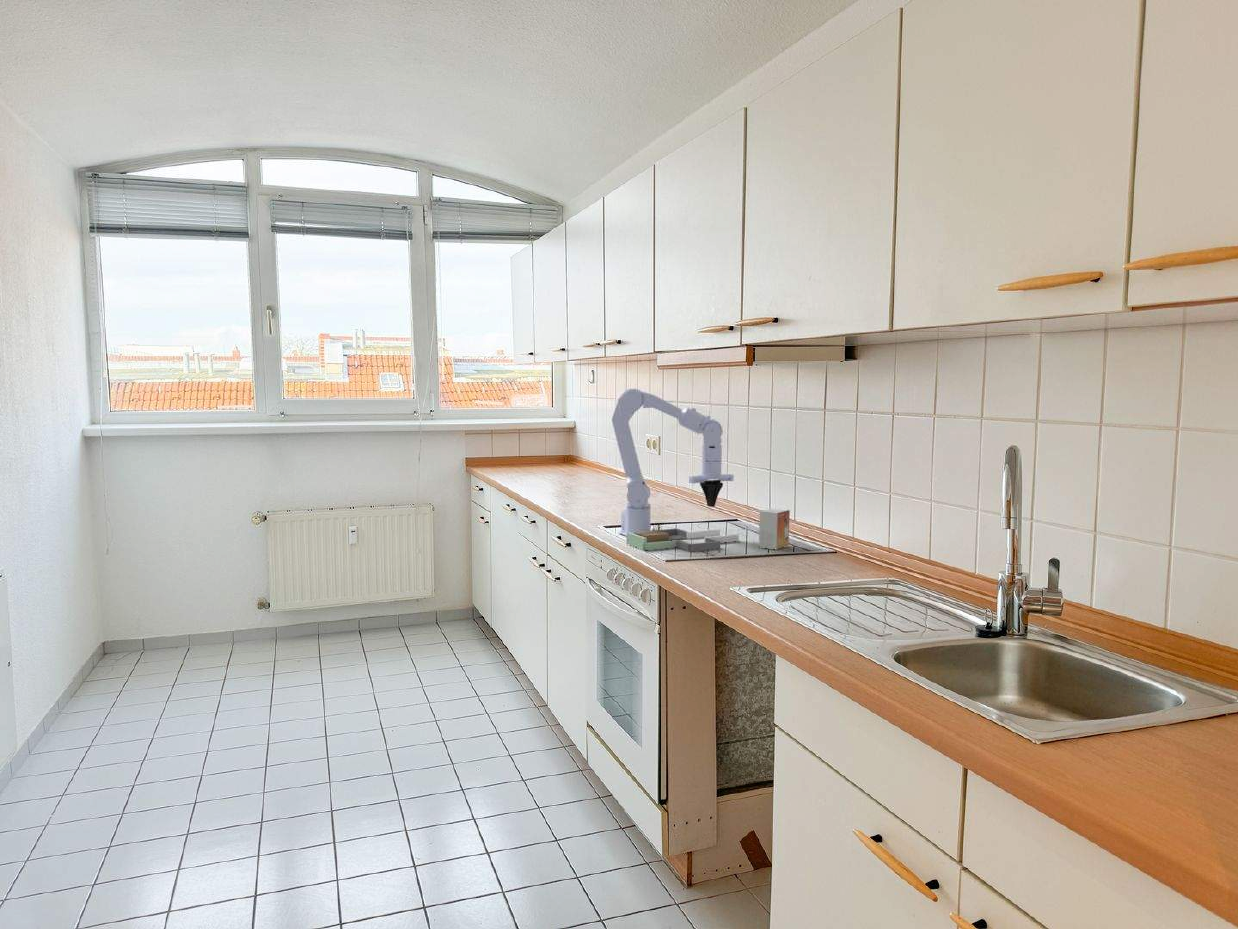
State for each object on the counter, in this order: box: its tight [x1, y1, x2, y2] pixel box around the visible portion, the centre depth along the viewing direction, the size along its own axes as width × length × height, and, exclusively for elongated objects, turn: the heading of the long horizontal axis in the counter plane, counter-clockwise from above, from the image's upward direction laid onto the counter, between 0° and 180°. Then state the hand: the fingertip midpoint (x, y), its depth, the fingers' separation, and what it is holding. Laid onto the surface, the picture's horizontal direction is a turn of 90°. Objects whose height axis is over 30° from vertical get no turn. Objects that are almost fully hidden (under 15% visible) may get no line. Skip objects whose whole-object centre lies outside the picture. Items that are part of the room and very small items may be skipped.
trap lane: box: [626, 527, 739, 553], centre depth 243 cm, size 23×32×4 cm
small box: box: [758, 507, 791, 551], centre depth 237 cm, size 8×6×10 cm
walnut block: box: [634, 529, 669, 543], centre depth 238 cm, size 6×8×4 cm
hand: (711, 506), depth 250 cm, fingers closed
